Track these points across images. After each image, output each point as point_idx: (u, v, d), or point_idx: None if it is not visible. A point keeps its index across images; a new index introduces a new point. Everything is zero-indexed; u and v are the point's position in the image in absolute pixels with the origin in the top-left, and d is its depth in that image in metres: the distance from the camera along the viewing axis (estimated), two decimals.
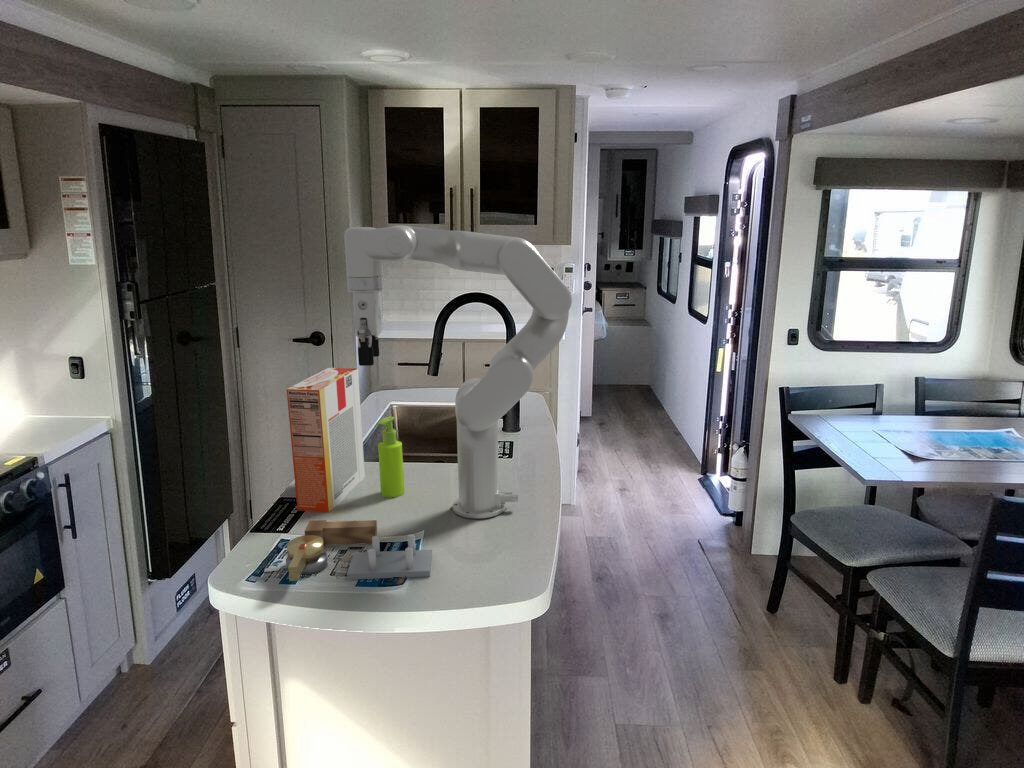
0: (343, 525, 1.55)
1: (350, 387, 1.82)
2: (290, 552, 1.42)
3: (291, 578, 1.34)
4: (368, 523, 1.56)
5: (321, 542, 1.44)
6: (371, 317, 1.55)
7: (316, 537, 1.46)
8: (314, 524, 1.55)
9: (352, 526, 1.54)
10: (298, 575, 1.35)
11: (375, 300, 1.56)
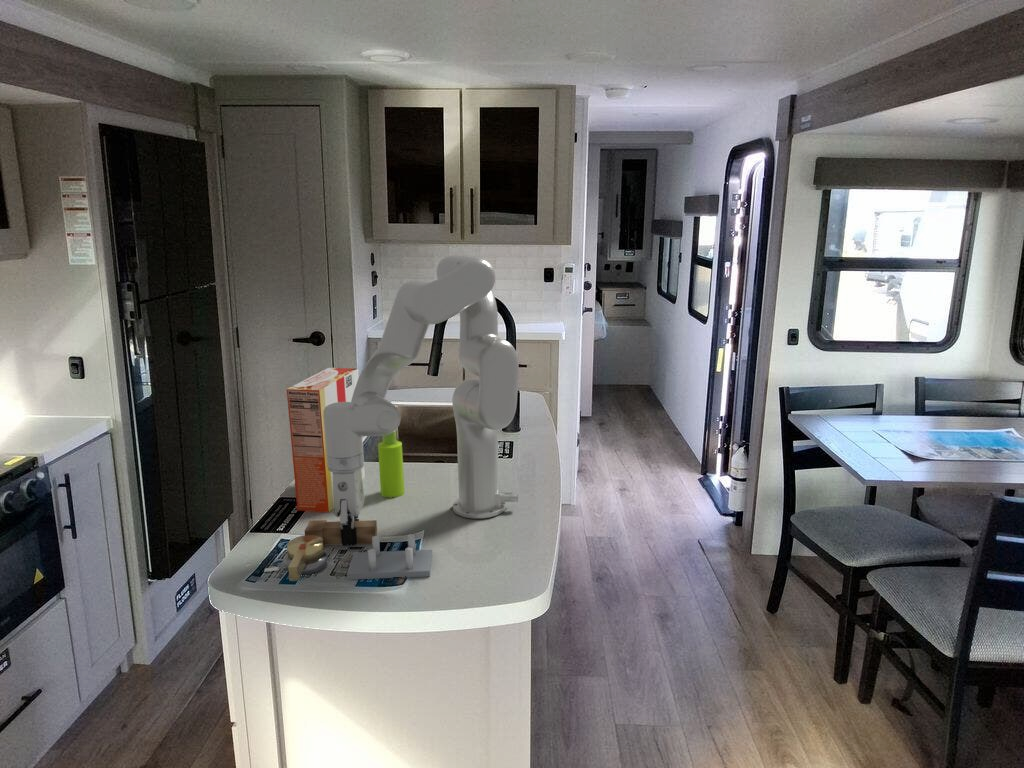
0: None
1: (350, 387, 1.82)
2: (290, 552, 1.42)
3: (291, 578, 1.34)
4: (368, 523, 1.56)
5: (321, 542, 1.44)
6: (351, 498, 1.49)
7: (316, 537, 1.46)
8: (314, 524, 1.55)
9: None
10: (298, 575, 1.35)
11: (356, 479, 1.50)
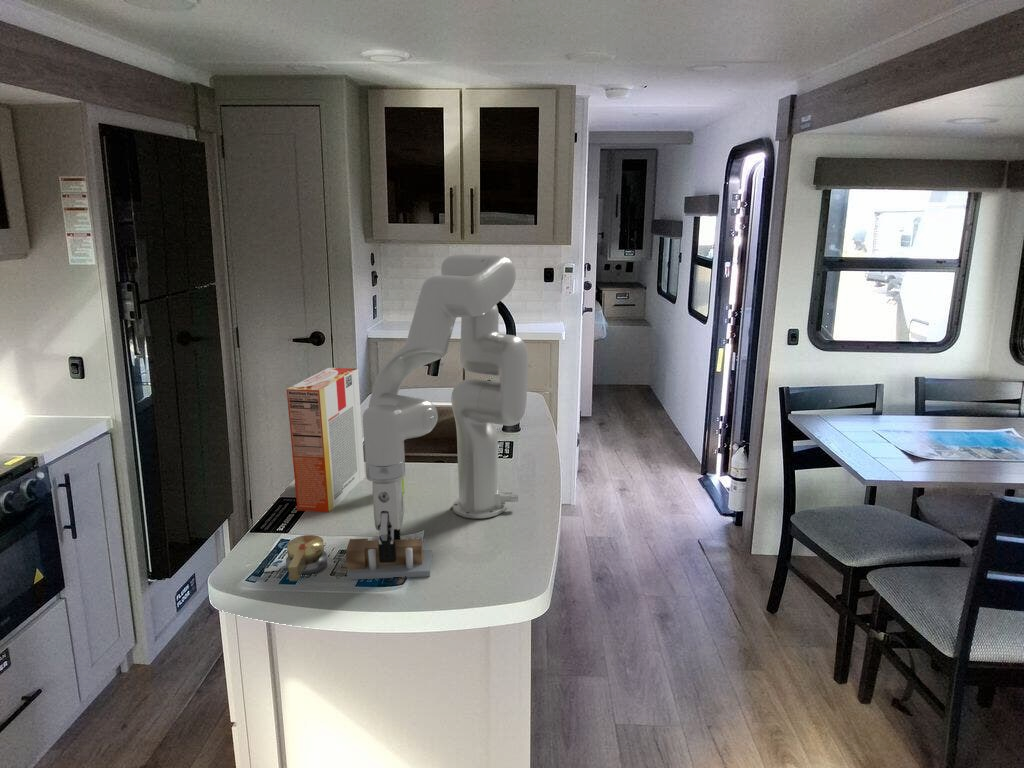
0: None
1: (350, 387, 1.82)
2: (290, 552, 1.42)
3: (291, 578, 1.34)
4: (414, 542, 1.44)
5: (321, 542, 1.44)
6: (393, 510, 1.37)
7: (316, 537, 1.46)
8: (355, 543, 1.43)
9: (397, 545, 1.42)
10: (298, 575, 1.35)
11: (398, 489, 1.38)
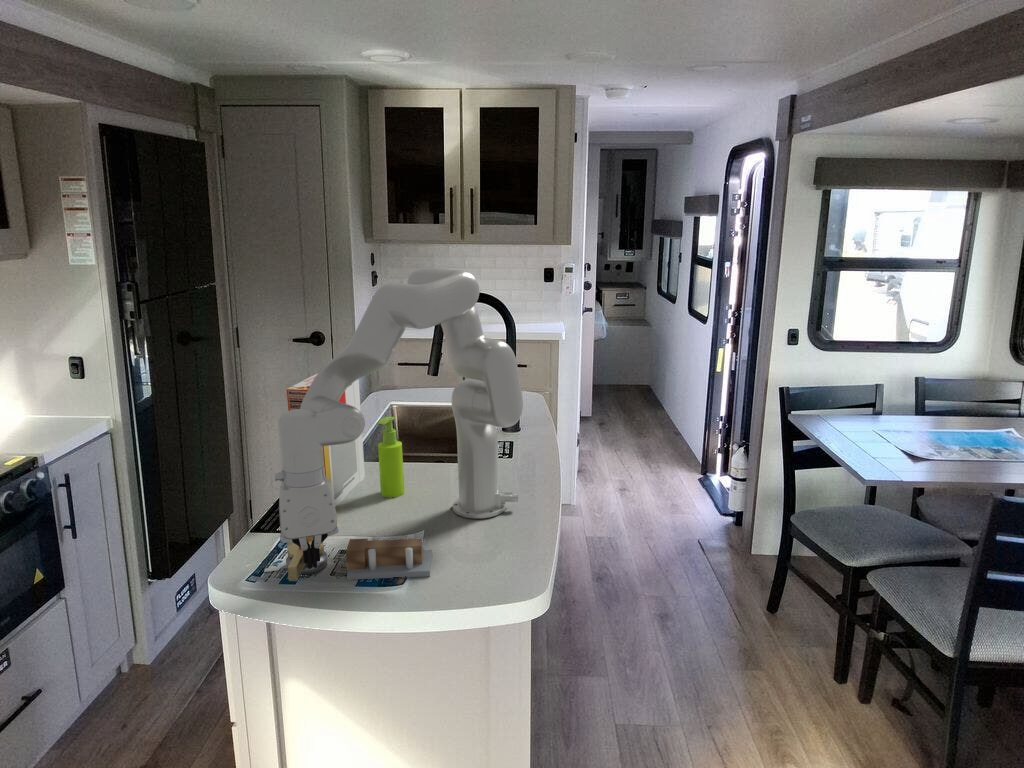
0: (387, 544, 1.43)
1: (350, 387, 1.82)
2: (290, 552, 1.42)
3: (290, 578, 1.34)
4: (414, 542, 1.44)
5: None
6: (280, 516, 1.33)
7: None
8: (355, 543, 1.43)
9: (397, 545, 1.42)
10: (297, 575, 1.35)
11: (288, 499, 1.32)
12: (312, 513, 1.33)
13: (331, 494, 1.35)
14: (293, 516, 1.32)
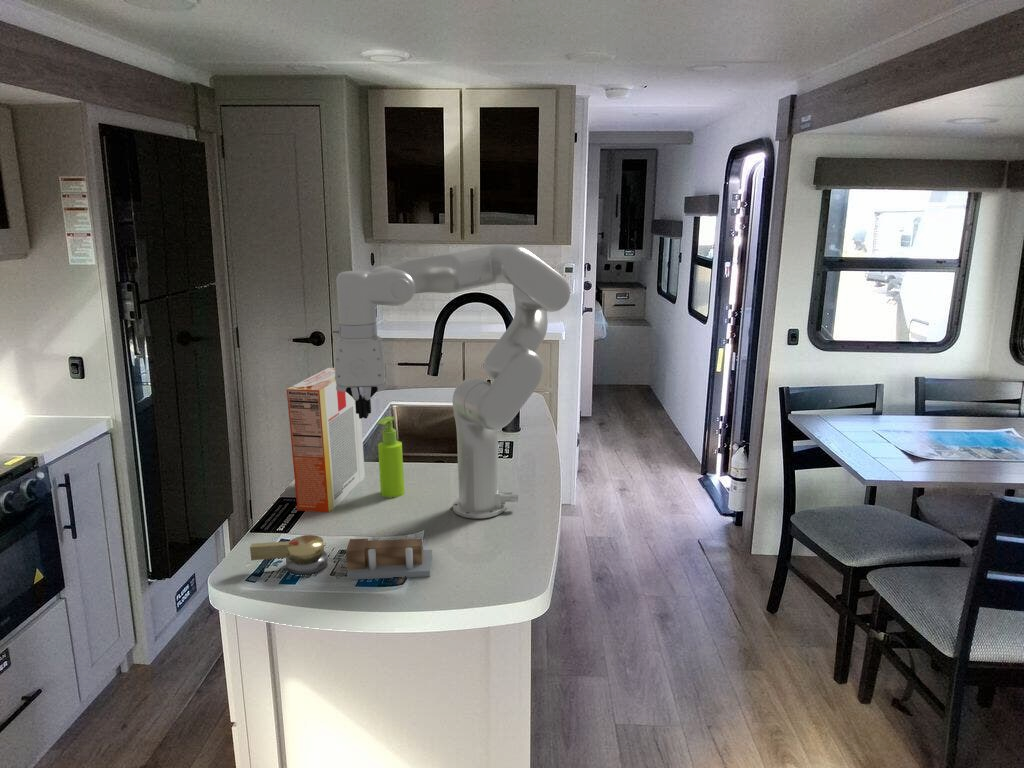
0: (387, 544, 1.43)
1: None
2: None
3: None
4: (414, 542, 1.44)
5: (302, 550, 1.41)
6: (335, 365, 1.48)
7: (315, 546, 1.43)
8: (355, 543, 1.43)
9: (397, 545, 1.42)
10: (254, 556, 1.43)
11: (341, 349, 1.47)
12: (361, 365, 1.48)
13: (379, 350, 1.48)
14: (345, 365, 1.47)
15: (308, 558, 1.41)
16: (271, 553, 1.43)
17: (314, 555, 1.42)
